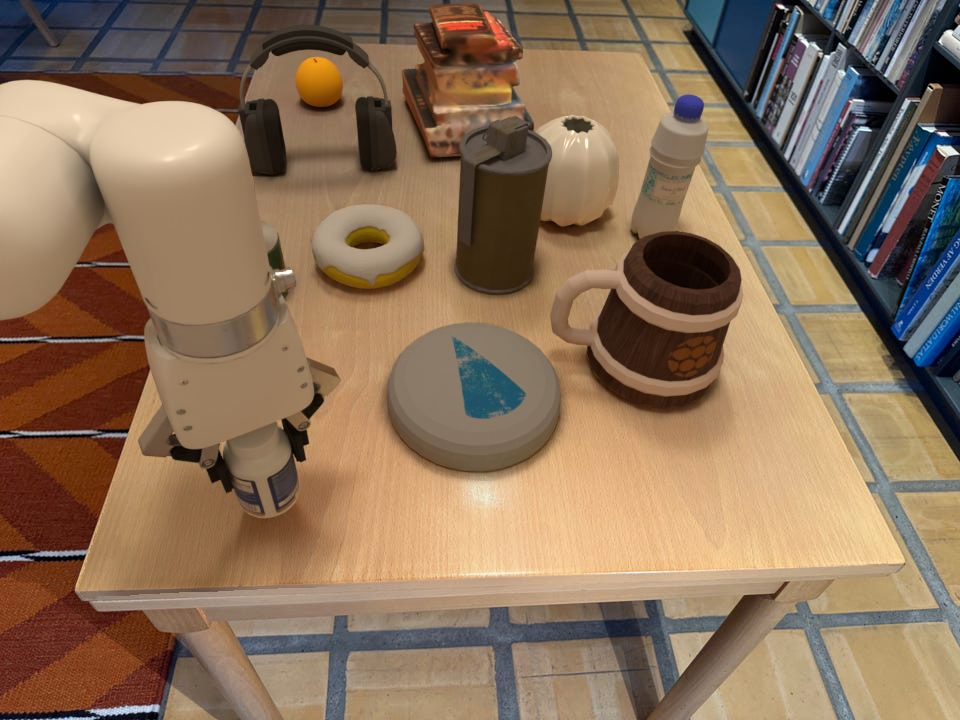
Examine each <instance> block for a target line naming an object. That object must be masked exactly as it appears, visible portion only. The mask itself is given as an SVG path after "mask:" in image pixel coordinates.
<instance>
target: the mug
mask: <svg viewBox="0 0 960 720" xmlns="http://www.w3.org/2000/svg"><path fill="white" fill-rule="evenodd" d="M591 289H602V290H609V293H608V295H607V298H606V300H605V302H604V304H603V306H602V307H599V310H598V311H597V312H596V314H595V316H594V318H593V320H591V321H592V322H591V323H590V325H589V329H581V328H577V327H572V326H571V325H570V324H569V316H570V314H571V310H572V306H573V303H574V301H575V300H576V299H577V298H578V297H579V296H580V295H581V294H582V293H585V292H587V291H589V290H591ZM743 299H744V290H743V285H742V274H741V269H740V267H739V265H738V264H737V262H736V260H735V259H734V257H733V256H732V255H731V254H730V253H728V251H726V250H725V249H724V248H723V247H722V246H720V245H719V244H718V243H716V242H714V241H712V240H710V239H708V238H707V237H704V236H701V235H697V234H695V233H691V232H684V231H679V230H675V231H666V232H659V233H655V234H651V235H648V236H644V237H643V238H641V239H638V240H637V241H635V242H633V244H632V246H631V248H629V249H628V250H626V251H625V252H624V253H623V254H622V256H621V257H620V259H619V260H618V262H617V264H616V266H615V268H614V269H584V270H583V271H581V272H578V273H576V274H575V275H572V276H570V277H569V278H568V279H567V280H566V281H565V282H564V283H563V284H562V285H561V286H559V288H558V289H557V290H556V293H555V296H554V299H553V303H552V306H551V310H550V314H549V320H550V324H551V325H550V326H551V331H552V333H553V334H554V335H556V336H557V337H559V338H560V339H561V340H563V341H564V342H565V343H567V344H571V345H578V346H586V358H587V359H588V362H589V365H590V368H591V370H592V371H593V373H594V374H595V376H596V377H597V378H598V379H599V381H600V382H601V383H602V385H604V386H605V387H607V388H608V389H609V390H611V391H612V392H613V393H615V394H616V395H618V396H619V397H621V398H623V399H626V400H628V401H631V402H632V403H636V404H638V405H642V406H648V407H653V408H658V409H664V408H680V407H683V406H686V405H688V404H691V403H693V402H696V401H698V400H700V398H702V397H703V396H704V395H705V394H706V393H707V392H708V391H709V390H710V388H711V385H712V383H713V381H715V380H716V379H717V378H718V377H719V374H720V372H721V368H722V366H723V363H724V358H725V352H724V344H725V341H726V337H727V334H728V330H729V327H730V324H731V322H732V321H733V320H734V319H735V318H736V317H737V316H738V315H739V311H740V309H741V306H742V304H743V303H742V302H743Z"/></svg>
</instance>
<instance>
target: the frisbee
mask: <svg viewBox="0 0 960 720" xmlns="http://www.w3.org/2000/svg"><path fill="white" fill-rule="evenodd" d="M386 390H387V391H386V404H387V409H388V410H387V411H388V416H389V419H390V421H391V424H392V426H393V428H394V429H395V431H396V433H397V434H398V436H399V438H400V439H401V440H402V441H403V442H404V443H405V444H406V445H407V446H408V447H409V448H410V449H412V451H414V452H415V453H416V454H418V455H419V456H421V457H422V458H424V459H426V460H427V461H430V462H432V463H434V464H436V465H440V466H443V467H446V468H449V469H451V470H458V471H464V472H465V471H466V472H488V471H497V470H501V469H504V468H507V467H511V466H514V465H516V464H519V463H521V462H522V461H524V460H527V459H528V458H530V457H531V456H532V455H534V454H535V453H537V452H538V451H539V450H541V449H542V447H543V446H544V445H545V444H546V443H547V442H548V440H549V439H550V438H551V436H552V435H553V432H554V431H555V429H556V427H557V424H558V421H559V417H560V413H561V404H562V403H561V402H562V392H561V387H560V380H559V377H558V374H557V371H556V369H555V367H554V365H553V363H552V362H551V360H550V359H549V358H548V357H547V355H545V353H544V351H542V350H541V348H539V347H538V346H537V345H536V344H535V343H534V342H532V341H531V340H529V338H526V337H525V336H523V335H522V334H520V333H518V332H516V331H515V330H514V331H513V330H512V329H509V328H506V327H503V326H500V325H496V324H492V323H485V322H470V321H469V322H459V323H457V322H455V323H452V324H448V325H443V326H439V327H437V328H434V329H432V330H429V331H428V332H426V333H424V334H423V335H420V336H419V337H417V338H416V339H415V340H413V341H412V342H411V343H410V344H408V345H407V346H406V347H405V348H404V349H403V351H401V353H400V354H398V357H397V358H396V360H395V361H394V363H393V366H392V368H391V372H390V374H389V377H388V381H387V389H386Z"/></svg>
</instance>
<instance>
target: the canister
mask: <svg viewBox="0 0 960 720" xmlns="http://www.w3.org/2000/svg"><path fill="white" fill-rule="evenodd" d="M530 127H531V124H530V123H528V122H526V121H524V120H522V119H520V118H519V117H517V116H513V117H508V118H505V119H503V120H496V121H493V122H491V123H490V124H489V125H487V126H483V127H480V128H476V129H473V130H471V131H470V132H468V133H467V134H465V136H464V137H463V138H462V139H461V142H460V145H459V149H460V153H461V156H460V165H459V166H460V168H459V188H458V189H459V191H458V211H457V233H456V235H457V237H456V252H455V253H456V256H455V259H454V262H453V267H454V268H453V269H454V272H455V275H456V277H457V278H458V279H459V280H460V282H462V284H464V285H465V286H466V287H469V288H470V289H472V290H475V291H477V292H480V293H484V294H488V295H503V294H504V295H505V294H507V295H508V294H511V293H515V292H518V291H519V290H521V289H523V288H524V287H526V286H527V285H529V283H530V282H531V280H532V279H533V276H534V272H535V271H534V270H535V268H534V262H535V257H536V256H535V255H536V249H537V243H538V236H539V231H540V223H541V220H540V218H541V212H542V205H543V199H544V192H545V186H546V180H547V173H548V167H549V162H550V161H551V158H552V148H551V146H550V144H549V143H548V142H547V140H546V139H544V138H543V137H542V136H540V135H539V134H537V133H536V131H534V132H533V131H531V130H528V128H530Z"/></svg>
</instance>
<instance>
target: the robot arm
mask: <svg viewBox="0 0 960 720" xmlns="http://www.w3.org/2000/svg"><path fill="white" fill-rule="evenodd" d="M261 221H262V219H261V214H260V209H259V204H258V199H257V194H256V189H255V184H254V178H253V174H252V169H251V167H250V162H249V157H248V153H247V149H246V145H245V142H244V136H243V135H242V133H241V131H240V130H239V128H238V127H237V126H236V124H235V123H234V122H233V121H232V120H231V119H230V118H229V117H228V116H226V115H225V114H224V113H222V112H220V111H219V110H216V109H214V108H212V107H210V106H207V105H204V104H201V103H195V102H190V101H183V100H163V101H162V100H161V101H160V100H159V101H153V102H152V101H151V102H146V103H142V104H141V103H138V102H133V101H127V100H123V99H119V98H114V97H111V96H108V95H103V94H99V93H96V92H91V91H87V90H85V89H81V88H77V87H73V86H69V85H66V84H61V83H56V82H52V81H45V80H35V79H19V80H12V81H8V82H4V83H1V84H0V321H6V320H12V319H18V318H21V317H25V316H27V315H29V314H31V313H34V312H36V311H38V310H40V309H41V308H43V307H44V306H46V304H47V303H49V302H50V301H51V300H52V299H53V298H54V297H56V295H57V294H58V293H59V292H60V290H61V289H62V288H63V286H64V285H65V283H66V281H67V280H68V278H69V276H70V275H71V273H72V271H73V270H74V269H75V267H76V265H77V263H78V261H79V260H80V259H81V257H82V255H83V253H84V251H85V249H86V248H87V245H88V244H89V242H90V240H91V239H92V237H93V236H94V233H95V232H96V231H97V230H98V229H100V228H101V227H104V226H105V225H108V224H112V225H113V227H114V230H115V232H116V234H117V237H118V239H119V242H120V244H121V248H122V249H123V250H122V251H123V252H124V255H125V257H126V260H127V262H128V264H129V267H130V270H131V272H132V275H133V277H134V280H135V283H136V285H137V287H138V290H139V293H140V296H141V298H142V300H143V303H144V305H145V306H146V307H145V308H146V310H147V311H148V314H149V316H150V318H149V319H148V320H147V322H146V323H145V325H144V329H143V337H144V338H143V339H144V346H145V351H146V353H145V354H146V357H147V363H148V365H149V371H150V373H151V377H152V379H153V382H154V385H155V387H156V391H157V395H158V396H159V400H160V401H161V405H160V406H159V408H158V410H157V411H156V412H155V414H154V416H152V418H151V420H150V421H149V423H148V424H147V426H146V427H145V429H144V430H143V432H142V433H141V435H140V436H139V437H138V439H137V442H138V446H139V449H140V451H141V454H142V456H145V457H154V458H167V457H171V458H172V460H174V461H179V462H188V463H194V464H198V465H199V467H200V469H201V470H205V471H206V473H207V475H208V478H209V481H210V483H211V484H215V483H217V482H219V481H220V482H221V485H222V488H223V490H224V493H225V494H229V493H232V492H233V490H234V487H233V484H232V481H231V478H230V476H229V473H228V470H227V467H226V465H225V462H224V460H223V454H222V453H221V451H220V444H221V443H224V442H226V441H227V440H229V439H232V438H235V437H237V436H240V435H243V434H245V433H248V432H251V431H253V430H256V429H258V428H261V427H263V426H266V425H269V424H271V423H274V422H276V421H277V422H278V421H281V424H282V425H281V426H282V429H283V430H284V431H285V432H286V433H287V435H288V437H289V439H290V442H291V446H292V451H293V456H294V459H295V461H296V462H297V463H300V464H301V463H303V462H306V461H307V456H306V452H305V446H308V445H310V440H309V435H308V429H309V428H310V427H311V425H312V421H310V419H311V418H312V417H313V416H314V415H315V414H316V412H317V411H318V410H319V409H320V408H321V407H322V405H323V404H324V402H325V397H328V396H329V395H330V394H331V393H332V392H333V391H334V390H335V388H337V387H338V386H339V385H340V383H341V381H342V379H341V377H340V376H339V374H338V372H337V370H336V369H335V368H334V367H332V366H330V365H327V364H324V363H322V362H320V361H317V360H316V359H313V358H311V357H307V355H306V351H305V348H304V345H303V341H302V339H301V336H300V333H299V330H298V327H297V325H296V322H295V320H294V317H293V315H292V313H291V310H290V308H289V305H288V303H287V301H286V300H285V297H283V296H282V294H281V293H282V292H285V291H286V289H288V290H289V289H292V288H295V287H297V281H296V277H295V275H294V271H293V270H292V268H291V267H285V269H281V270H279V269H278V268H277V269H274V270H273V269H272V267H271V266H269V261H268V256H267V250H266V245H265V239H264V234H263V229H262V224H261Z"/></svg>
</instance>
